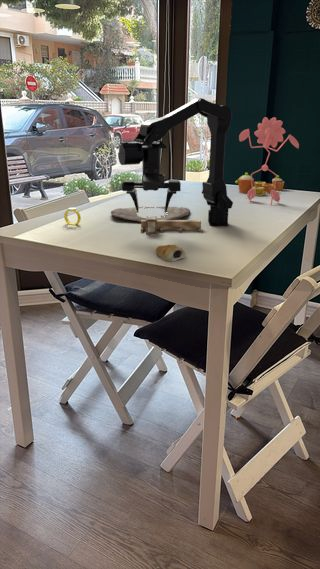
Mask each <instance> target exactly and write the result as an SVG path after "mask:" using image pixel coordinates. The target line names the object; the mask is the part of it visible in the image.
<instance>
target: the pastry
mask: <svg viewBox="0 0 320 569" xmlns="http://www.w3.org/2000/svg"><path fill="white" fill-rule="evenodd" d="M154 251H155V253H156V254H157V256H158V258H160V259H161V260H163V261H165V262H166V261H167V262H176V261H179V260H182V259H184V258H185V257H186V252H185V250H184V249H183V247H179V246H177V245H175V244H166V245H165V244H164V245H159V246H157V247H156V248H155V250H154Z"/></svg>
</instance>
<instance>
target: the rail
mask: <svg viewBox="0 0 320 569" xmlns="http://www.w3.org/2000/svg"><path fill="white" fill-rule="evenodd" d="M166 229H179V230H178V231H180V232H179V233H183V230H182V229H185V230H184V231H198V230H199V231H198V233H199V232H201V233H202V220H200V219H185V220H184V219H175V220H157V231H159V232H160V233H163V231H167V230H166ZM144 231H146V220H141V222H140V233H144Z"/></svg>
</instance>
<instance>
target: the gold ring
mask: <svg viewBox="0 0 320 569" xmlns="http://www.w3.org/2000/svg"><path fill="white" fill-rule="evenodd" d="M69 212H73V213H75V214H76V216H77V222H76V223H73V222H71V221H69V218H68V213H69ZM64 220H65V222H66V224H68V225H70V226H77V225H78V224H80V222H81V220H82V219H81V214H80V212H79V211H78V210H77V208H76V207H68V208H67V210H66V211H65V212H64Z"/></svg>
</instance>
